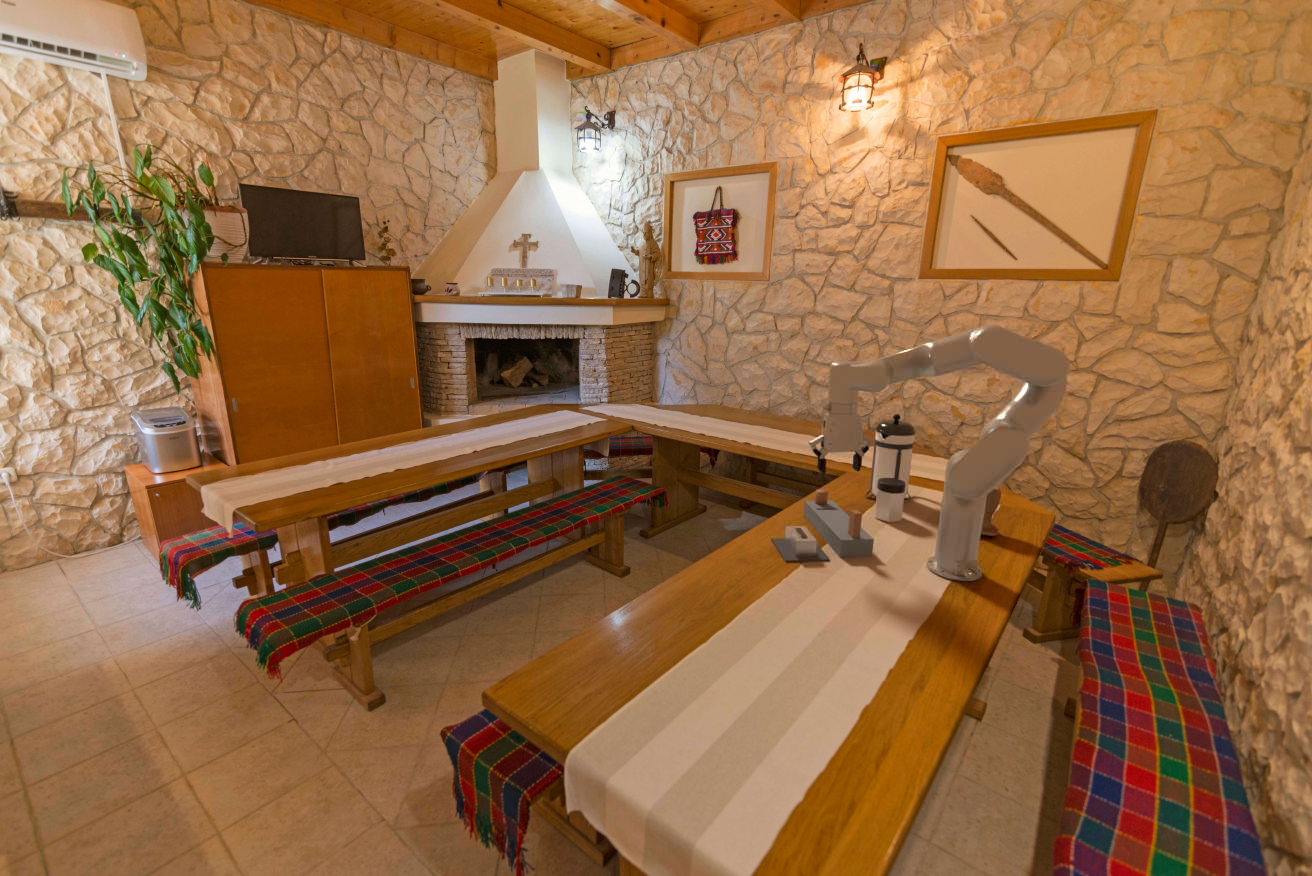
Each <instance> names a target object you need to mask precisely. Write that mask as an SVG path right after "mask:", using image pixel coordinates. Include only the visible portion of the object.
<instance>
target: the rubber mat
mask: <svg viewBox="0 0 1312 876" xmlns="http://www.w3.org/2000/svg"><path fill="white" fill-rule="evenodd" d="M770 540H771V542H772V544H773V545H774V547H775V548H776V550H777V552H778V554H780V556H781V557H782V560H783V561H784V562H785V563H801V562H802V563H804V562H805V563H806V562H830V561H831V558H830V557H829V556H828V555H827V553H825V552H824V550H823V549H822V548H821V547H820V545H819V544H818V543H817V547H816V556H802V557H796V556H795V555H794V554H793V552H792V551H791V549H790V548H789V546H788V545H787V543H786V542H785V537H777V538H776V537H774V538H770Z"/></svg>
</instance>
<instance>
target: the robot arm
mask: <svg viewBox="0 0 1312 876" xmlns="http://www.w3.org/2000/svg"><path fill="white" fill-rule="evenodd" d="M980 365H985V366H988V367H990V368H991V369H994V370H996V371H998V372H1001V373H1003V374H1006V375H1008V376H1010V377H1013V378H1016V379H1018V380H1020V381H1022V382H1023V383H1022V385H1021V387H1020V389H1019V391H1018V392H1017V394H1016V395H1015V396H1014V397H1013V398H1012V399H1011V400H1010V402H1008V404H1006V405H1005V406H1004V408H1002V409H1001V410H1000V411H999V412H998V413H997V414H996V415H995V416H994V417H993V418H992V419H991V420H990V421H989V422H988V423H986V424H985V425H984V426H983V428H982V429H981V430H980V433H979V440H978V441H977V442H976V443H975V444H974V445H973V446H972V447H971V448H970V449H962V450H959V451H956V452H954V453H953V455H951V456H950V458H948V460H947V463H946V467H945V471H944V472H945V474H944V482H943V483H944V484H943V493H942V501H941V507H940V513H939V520H938V526H937V527H938V528H937V535H936V543H935V549H934V555H932V556H930V557H928V558H927V560H926V567H927V568H928V569H929V571H931V572H933V573H934V574H936V575H938V576H940V577H943V578H945V579H949V580H953V581H959V582H960V581H961V582H973V581H977V580H979V579H981V578H982V576H983V571H982V569H981V567H980V566H979V561H977V560H978V556H979V547H980V541H981V530H982V524H983V517H984V512H985V505H986V498H987V494H988V493H989V492H991V491H992V490H993V489H994V488H995V487H998V486H999V485H1000V484H1001V483H1002V482H1003V481H1004V480H1005V479H1006V478H1007V477H1008V476H1010V474H1012V473H1013V472H1014V471H1015V470H1016V469H1017V468H1018V467H1019V466H1020V465H1021V464H1022V463H1023V462H1024V461H1025V460H1026V458H1027V456H1028V454H1029V452H1030V449H1031V440H1030V439H1031V438H1032V437H1033V436H1034V435H1035V434H1036V433H1037V432H1038V431H1039V430H1040V429H1041V428H1042V427H1043V426H1044V425H1045V424H1046V423H1047V421H1048V420H1050V418H1051V417H1052V416H1053V415H1054V414H1055V413H1056V412H1057V410H1058V409H1059V407H1060V406H1061V405H1062V403H1063V401H1064V398H1065V395H1066V392H1067V388H1068V387H1067V385H1068V375H1069V374H1070V369H1071V362H1070V359H1069V357H1068V356H1067V355H1066V353H1065V352H1063V351H1062V350H1060V349H1058V348H1056V347H1055V346H1052V345H1049V344H1045V343H1042V342H1039V341H1036V340H1034V339H1031V338H1028V337H1026V336H1023V335H1021V334H1018V333H1016V332H1014V331H1012V330H1010V329H1008V328H1005V327H1004V326H1001V325H998V324H986V325H983V326H978V327H976V328H972V329H969V330H967V331H963V332H960V333H959V332H958V333H956V334H954V335H949V336H946V337H943V338H940V339H936V340H933V341H929V342H926V343H924V344H920V345H919V346H917V347H913V348H910V349H906V350H903V351H900V352H897V353H896V352H895V353H893V354H890V355H886V356H883V357H880V358H876V359H873V360H871V361H869V362H868V363H861V364H859V363H857V362H855V361H848V360H847V361H843V360H842V361H834V362H832V363H831V364H830V365H829V375H828V393H827V395H828V396H827V402H826V404H823V405H822V410H823V411H826V413H824V417H823V421H822V426H821V432H820V435H819V436H818V437H815V438H813V439H811V440H809V442H808V445H809V448H810V450H811V451H812V453H813V454H814V455H815V456H816V457H817V467H816V468H817V470H818V472H820V473H821V474H825V473H827V472H826V471H827V470H826V469H827V459H826V456H827V455H828V454H829V453H833V454H834V453H852V452H853V453H855V454H853V457H852V469H853V470H855V471H857V472H860V471H861V468H862V467H863V466H862V462H863V458H864V456H865V454H866V453H867V452H869V450H870V447H871V446H872V444H873V443H874V441H873V439H871V438H869V437H867V436H866V435H863V422H862V415H861V413H858V406H859V392H860V391H861V392H865V393H873V394H874V393H880V392H882V391H884V390H885V389H886V388H887V387H888V386H891V385H893V384H896V383H900V382H903V381H908V380H912V379H916V378H922V377H927V378H929V377H930V378H933V377H941V376H944V375H948V374H951V373H955V372H957V371H962V370H966V369H969V368H974V367H977V366H980ZM863 442H864V444H863ZM818 444H820V448H819V449H818V446H817V445H818Z"/></svg>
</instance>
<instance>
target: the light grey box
mask: <svg viewBox="0 0 1312 876" xmlns="http://www.w3.org/2000/svg"><path fill="white" fill-rule="evenodd" d="M784 532H785V534H784V538H785V542H786V543H787V545H788V546H789V548H790V549H791V551H792V552H793V554H794V555H795V556H796V557H802V556H816V547H817V544H818V540H817V538H815V536H814V535H813V534H812V533H811V531H810V530H809V529H808V527H807V526H806V525H787V526H785V531H784Z"/></svg>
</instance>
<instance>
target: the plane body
mask: <svg viewBox="0 0 1312 876" xmlns="http://www.w3.org/2000/svg"><path fill="white" fill-rule="evenodd" d="M828 496H829V491H828V490H826V489H822V488H821V489H820V488H819V489H816V490H815V499H814V500H804V501H803V517H804V518H805V519H806V520H807V521H808V523H809V524H811V526H812V527H813V528H814V529H815V531H816V532H817V533H818V534H819V535H820V536H821V538H822V539H823V540H824V541H825V542H826V543H827V545H829V547H830V548H831V549H832V550H833V551H834V552H835V554H836V555H837V556H838V557H839V558H856V557H858V558H859V557H861V558H863V557H873V551H874V541H875V540H874V539H875V538H873V537H872V536H871V535H870V534H869V533H868V532H867V531H866V530H864V529H863V528H862V518H863V517H862V516H863V513H862V512H861V511H860V510H859V509H850V511H849V515H848V513H846V511H844V510H843V509H842V508H841V507H840V506H839V505H838V504H837V503H836V502H835V501H834V500H832V499H828Z"/></svg>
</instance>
